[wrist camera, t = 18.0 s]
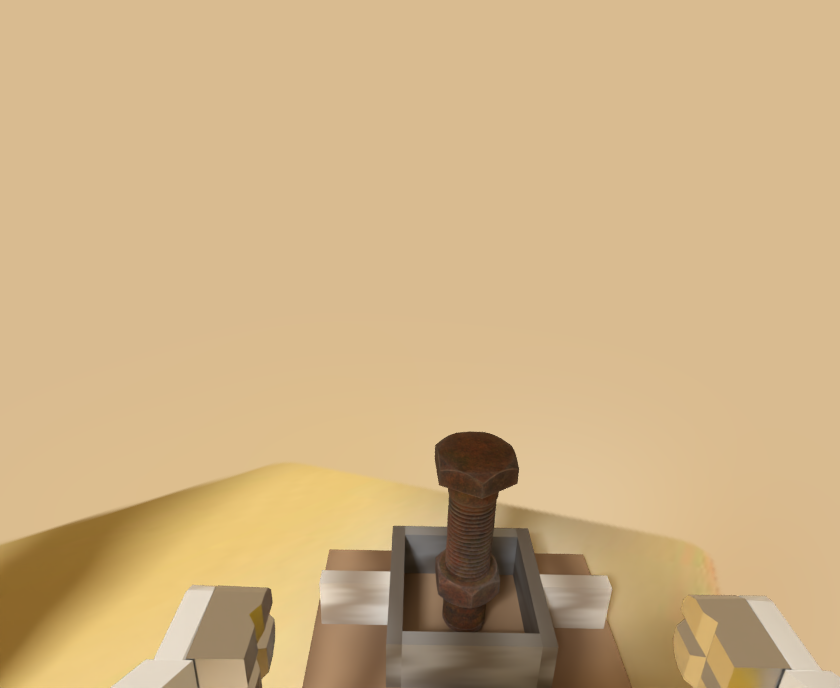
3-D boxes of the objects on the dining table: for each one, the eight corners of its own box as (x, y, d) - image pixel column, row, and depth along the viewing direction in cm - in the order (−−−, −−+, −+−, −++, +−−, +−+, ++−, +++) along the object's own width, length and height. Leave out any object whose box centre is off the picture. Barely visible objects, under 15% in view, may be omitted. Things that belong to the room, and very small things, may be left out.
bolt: (452, 664, 39) (464, 486, 34) (412, 614, 43) (417, 445, 37) (514, 626, 42) (536, 456, 37) (472, 582, 46) (485, 422, 40)
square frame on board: (299, 724, 37) (294, 664, 35) (330, 562, 50) (327, 512, 48) (637, 728, 37) (653, 670, 35) (580, 567, 50) (589, 517, 48)
